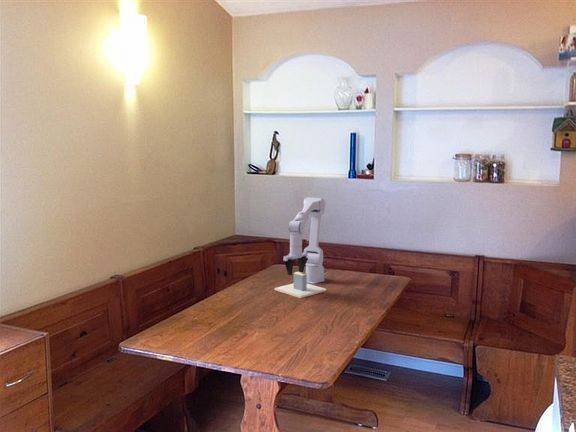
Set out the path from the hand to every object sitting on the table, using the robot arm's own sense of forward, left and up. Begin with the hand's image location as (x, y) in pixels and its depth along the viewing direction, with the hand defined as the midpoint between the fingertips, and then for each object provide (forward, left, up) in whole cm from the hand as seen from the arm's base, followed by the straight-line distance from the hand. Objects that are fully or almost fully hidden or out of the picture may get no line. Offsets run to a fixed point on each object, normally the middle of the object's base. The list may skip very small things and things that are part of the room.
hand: (295, 273), depth 253 cm
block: (-4, 0, -9) cm, 9 cm away
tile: (-5, -1, -10) cm, 11 cm away
